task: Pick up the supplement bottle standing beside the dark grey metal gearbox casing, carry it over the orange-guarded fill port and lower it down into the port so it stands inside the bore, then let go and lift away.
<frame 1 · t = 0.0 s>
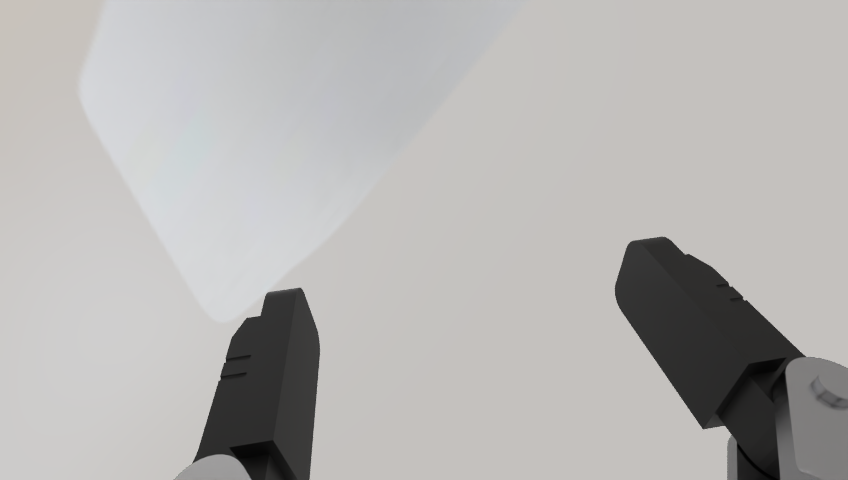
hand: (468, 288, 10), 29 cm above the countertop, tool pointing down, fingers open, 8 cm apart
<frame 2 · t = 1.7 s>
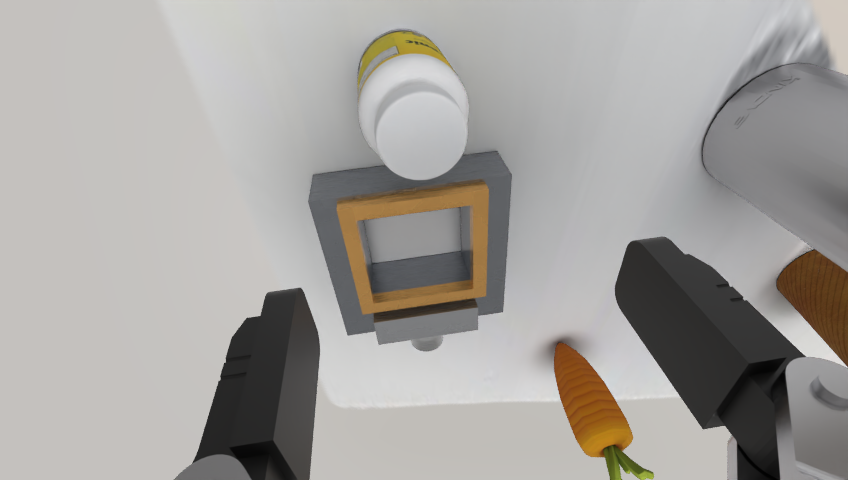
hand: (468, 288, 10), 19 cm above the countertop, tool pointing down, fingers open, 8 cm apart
disposable coffee cup: (806, 269, 42), on the countertop
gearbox: (414, 236, 33), on the countertop
supplement bottle: (401, 74, 25), on the countertop
carrot: (558, 341, 44), on the countertop
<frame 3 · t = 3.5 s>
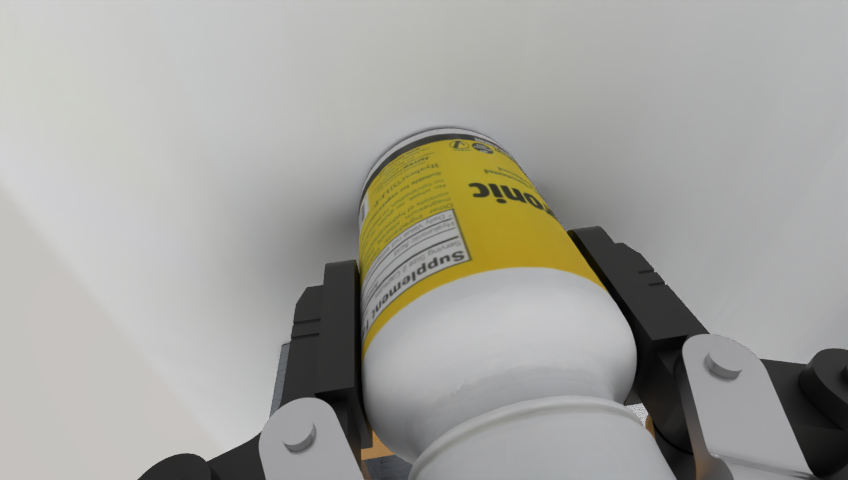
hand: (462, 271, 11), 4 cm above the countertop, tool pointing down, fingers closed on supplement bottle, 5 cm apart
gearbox: (445, 404, 21), on the countertop
supplement bottle: (440, 197, 14), on the countertop, touching gripper
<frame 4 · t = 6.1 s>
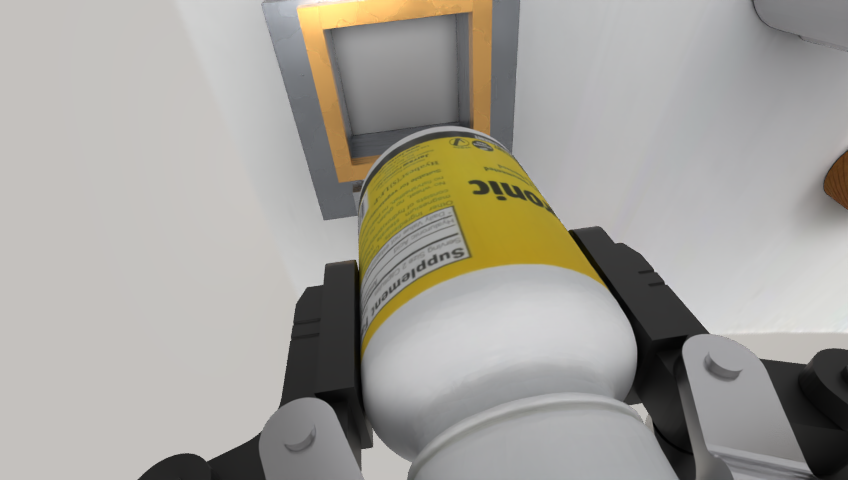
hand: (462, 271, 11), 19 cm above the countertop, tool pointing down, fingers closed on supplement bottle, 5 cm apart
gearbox: (402, 96, 27), on the countertop
supplement bottle: (440, 195, 14), point 16 cm above the countertop, touching gripper
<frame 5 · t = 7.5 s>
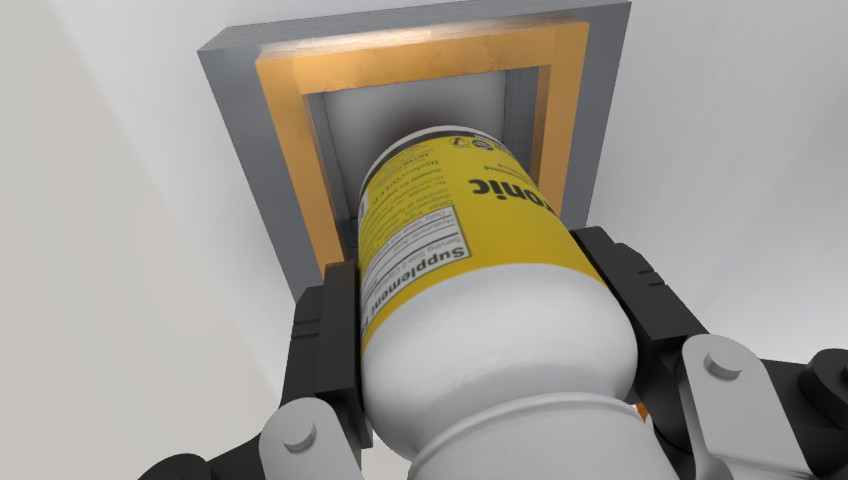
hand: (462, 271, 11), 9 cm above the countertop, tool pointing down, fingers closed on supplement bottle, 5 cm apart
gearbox: (422, 167, 19), on the countertop
supplement bottle: (440, 195, 14), point 5 cm above the countertop, touching gripper
when the fingers open (6 cm above the countertop, at t = 8.6 s): supplement bottle drops 2 cm, resting in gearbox.
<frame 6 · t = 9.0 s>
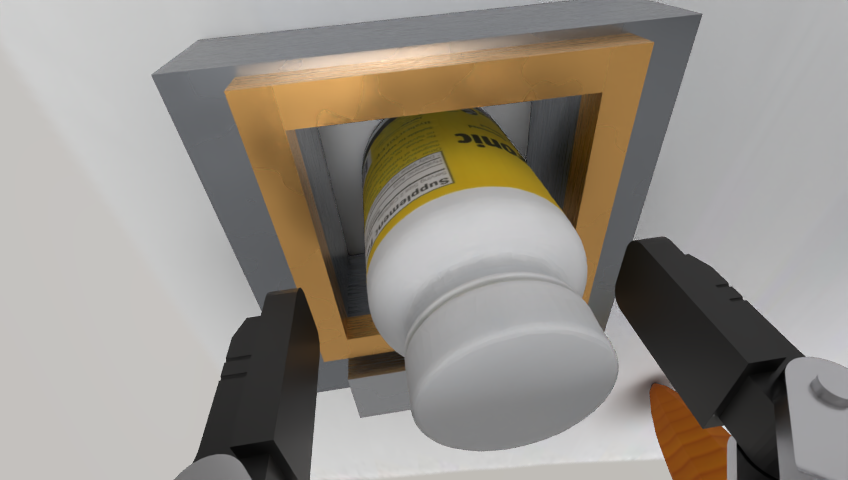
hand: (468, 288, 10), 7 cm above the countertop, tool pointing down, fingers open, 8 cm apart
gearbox: (432, 199, 16), on the countertop
supplement bottle: (433, 161, 16), resting in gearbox
carrot: (652, 381, 28), on the countertop
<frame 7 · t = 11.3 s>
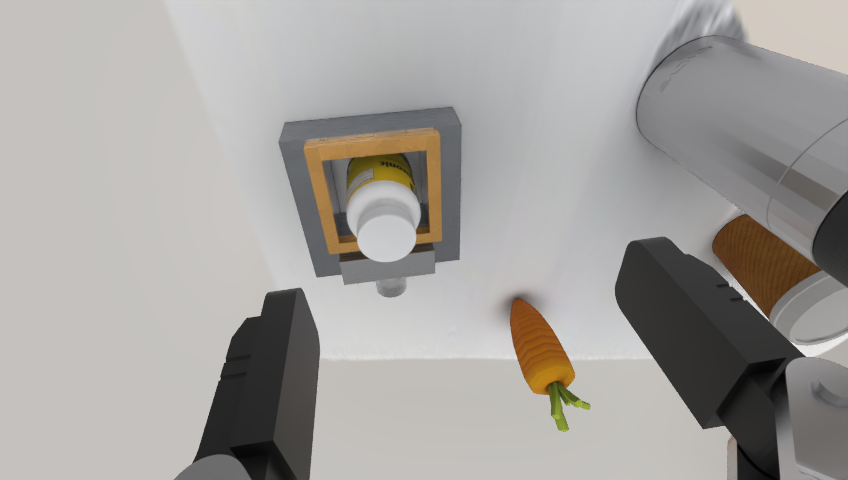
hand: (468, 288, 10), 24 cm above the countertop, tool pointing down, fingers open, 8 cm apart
disposable coffee cup: (738, 234, 46), on the countertop
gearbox: (379, 186, 36), on the countertop
supplement bottle: (378, 169, 35), resting in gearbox
carrot: (516, 298, 48), on the countertop
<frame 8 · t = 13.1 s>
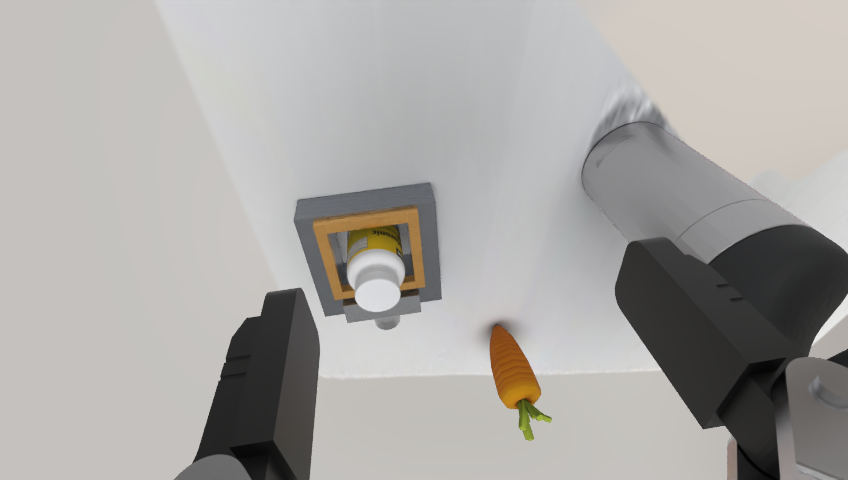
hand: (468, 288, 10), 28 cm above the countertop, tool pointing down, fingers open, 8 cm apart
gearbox: (374, 242, 44), on the countertop
supplement bottle: (373, 229, 43), resting in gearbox
carrot: (495, 324, 56), on the countertop
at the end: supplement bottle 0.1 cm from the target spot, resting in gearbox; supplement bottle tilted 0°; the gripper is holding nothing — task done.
